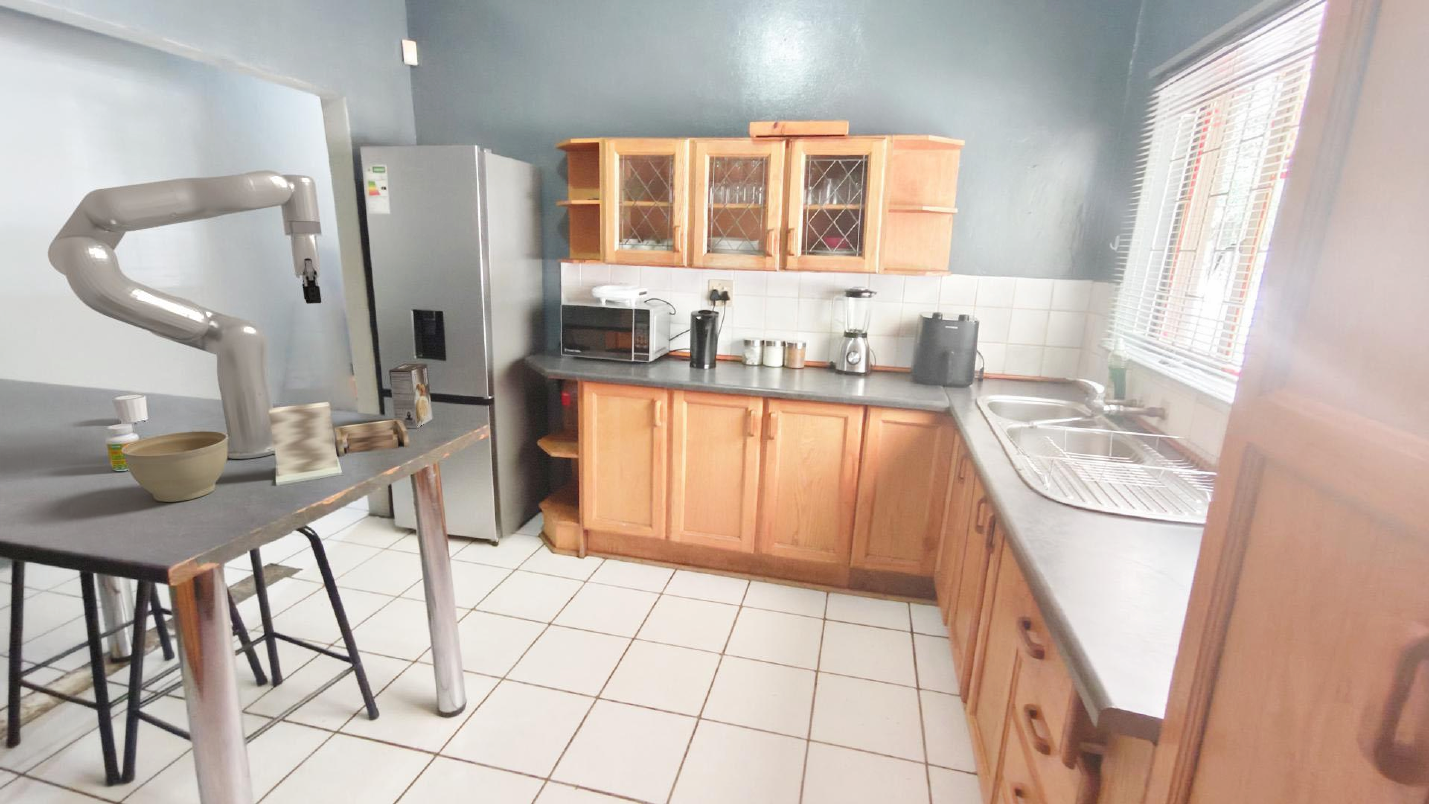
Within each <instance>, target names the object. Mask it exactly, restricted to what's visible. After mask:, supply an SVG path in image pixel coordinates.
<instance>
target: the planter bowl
mask: <svg viewBox="0 0 1429 804" xmlns="http://www.w3.org/2000/svg"><path fill="white" fill-rule="evenodd" d="M227 442H228V436H227V433H224V432H220V431H214V430H196V431H195V430H193V431H182V432H173V433H167V434H166V433H163V434H160V435H155V436H150V437H146V438H143V439H140V440H138V441H135V442H133V443H130V444H128V445H126V446H125V447H123V448H122V450H121V452H122V455H123V457H124V458H125V461H126V464H127V467H128V469H129V471H128V472H129V473H130V474H131V476H132V478H133V479H134V480H135V482H137V483H138V484H139V486H141V487H142V489H144V490H146V491H147V492H148V493H151V494H152V497H153V499H155V500H156V501H157V502H163V503H168V502H169V503H171V502H172V503H173V502H174V503H175V502H183V501H188V500H193V499H197V498H200V497H203V496H205V495H208V494H210V493H211V492H213V491H214V490H215V489H216V482H217V481H218V480H219V479H220V477H221V475H222V473H223V471H224V470H225V467H226V464H227V461H228V458H227V455H228V447H227Z"/></svg>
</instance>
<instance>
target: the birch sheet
mask: <svg viewBox="0 0 1429 804" xmlns="http://www.w3.org/2000/svg"><path fill="white" fill-rule="evenodd" d="M269 417H270V424H271V430H272V436H273V442H274V448H275V453H274V454H275V459H276V460H275V461H276V466H277V467H278V473H279V476H284V475H290V474H297V473H303V472H309V471H316V470H322V469H329V468H335V467H338V462H337V457H338V456H337V451H336V450H337V449H336V447H337V446H336V441H335V433H334V426H333V418H332V411H331V405H330V403H329V401H326V402H325V401H324V402H317V403H307V404H299V405H288V406H280V407H279V406H278V407H273V408H269Z"/></svg>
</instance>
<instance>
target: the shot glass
mask: <svg viewBox="0 0 1429 804" xmlns="http://www.w3.org/2000/svg"><path fill="white" fill-rule="evenodd" d="M111 400H112V403H113V405H114V409H115V412H116V414H117V416H118V417H117V418H118V420H119V422H120V421H121V422H137V421H141V420H147V419H148V408H147V407H148V405H147V397H146V395H145V394H139V393H138V394H126V395H121V396H117V397H114V398H112V399H111ZM148 420H149V419H148Z"/></svg>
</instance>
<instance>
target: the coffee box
mask: <svg viewBox="0 0 1429 804" xmlns="http://www.w3.org/2000/svg"><path fill="white" fill-rule="evenodd" d="M388 373H389V374H388V375H389V381H390V382H389V383H390V388H391V389H390V392H391V398H392V405H393V406H392V408H393V414H394V416H393V417H394V420H396V419H400V420H401V421H402V423H403V424H404V426H405V427H406V429H419V428H421V427H422V426H424V425H425V424H427V423H428V422H430V421H431V420H433V419H434V417H433V409H432V401H431V391H430V390H431V389H430V382H429V381H430V380H429V371H428V363H403V364H401V365H399V366H396V367H394V368H392V369H389V370H388ZM423 424H424V425H423ZM421 425H422V426H421ZM420 426H421V427H420Z"/></svg>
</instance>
